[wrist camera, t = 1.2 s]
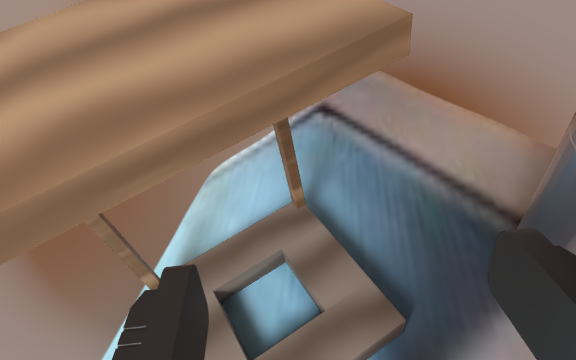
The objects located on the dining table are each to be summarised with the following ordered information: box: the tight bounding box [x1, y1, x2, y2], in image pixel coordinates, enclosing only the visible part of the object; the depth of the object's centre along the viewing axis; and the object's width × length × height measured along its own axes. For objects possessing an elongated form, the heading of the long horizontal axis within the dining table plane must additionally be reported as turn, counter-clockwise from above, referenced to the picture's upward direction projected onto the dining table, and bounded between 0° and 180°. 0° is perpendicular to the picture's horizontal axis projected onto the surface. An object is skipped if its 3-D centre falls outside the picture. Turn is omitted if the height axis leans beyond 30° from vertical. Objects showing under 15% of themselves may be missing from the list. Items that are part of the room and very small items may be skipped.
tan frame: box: [0, 0, 413, 360], centre depth 25 cm, size 16×17×27 cm
